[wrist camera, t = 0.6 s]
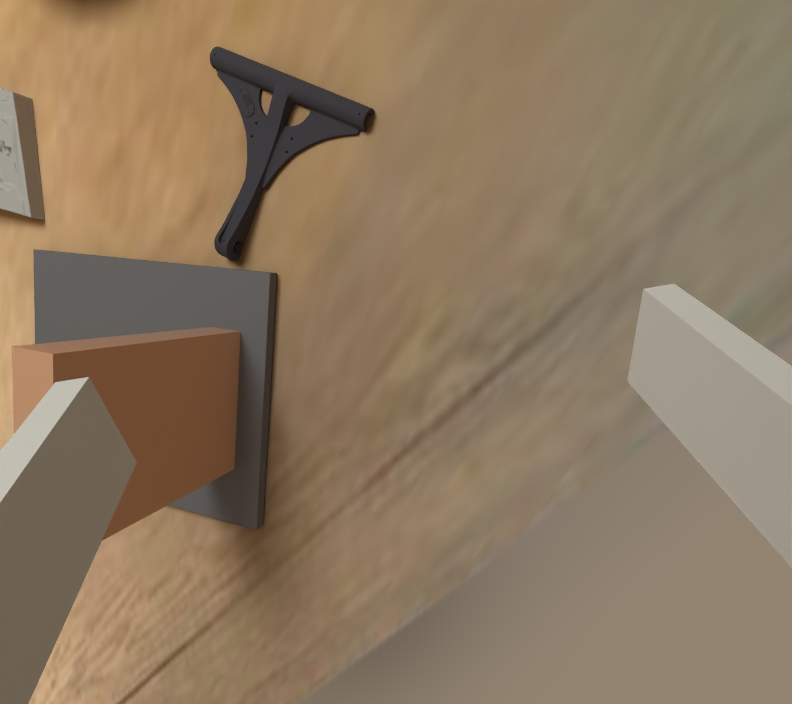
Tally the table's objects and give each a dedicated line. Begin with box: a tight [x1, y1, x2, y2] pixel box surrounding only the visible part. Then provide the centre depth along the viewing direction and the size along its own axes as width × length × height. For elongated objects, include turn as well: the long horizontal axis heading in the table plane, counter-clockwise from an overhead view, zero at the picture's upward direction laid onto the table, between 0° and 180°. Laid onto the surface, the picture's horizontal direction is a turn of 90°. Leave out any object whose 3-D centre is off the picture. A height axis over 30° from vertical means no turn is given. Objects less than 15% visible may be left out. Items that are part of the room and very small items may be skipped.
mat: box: [34, 250, 277, 530], centre depth 45 cm, size 22×26×1 cm
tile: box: [12, 327, 241, 540], centre depth 35 cm, size 12×3×16 cm, turn 174°
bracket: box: [210, 47, 374, 261], centre depth 39 cm, size 14×15×3 cm
